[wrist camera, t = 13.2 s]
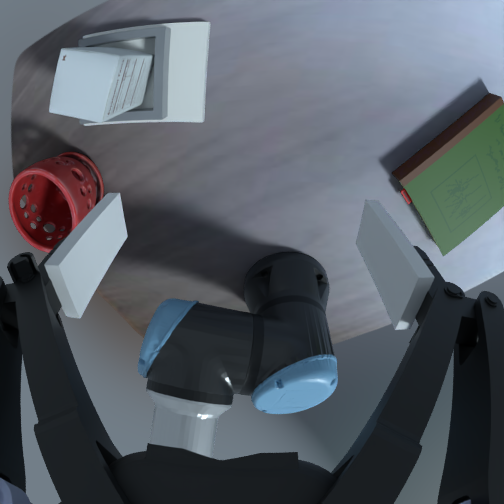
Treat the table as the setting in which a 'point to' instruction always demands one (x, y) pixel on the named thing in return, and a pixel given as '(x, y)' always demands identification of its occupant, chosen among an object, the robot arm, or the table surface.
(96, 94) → the supplement box
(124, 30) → the plate
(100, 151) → the table surface
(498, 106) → the hardcover book
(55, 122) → the table surface
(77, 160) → the plant pot
